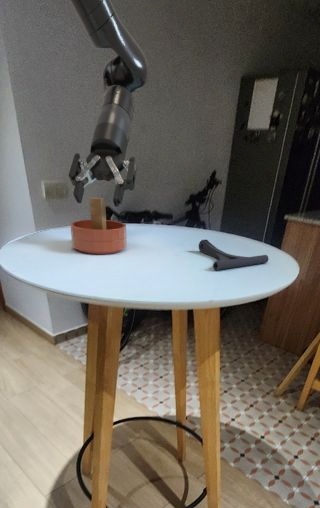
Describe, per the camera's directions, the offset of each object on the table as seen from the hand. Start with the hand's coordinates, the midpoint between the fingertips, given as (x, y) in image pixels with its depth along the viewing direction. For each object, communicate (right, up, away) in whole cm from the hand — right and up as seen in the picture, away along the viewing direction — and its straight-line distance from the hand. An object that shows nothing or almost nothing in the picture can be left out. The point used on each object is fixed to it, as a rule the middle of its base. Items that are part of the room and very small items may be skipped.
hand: (96, 202), depth 78 cm
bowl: (0, -7, +6) cm, 9 cm away
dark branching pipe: (+27, -11, +3) cm, 30 cm away
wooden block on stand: (0, -7, +6) cm, 9 cm away
